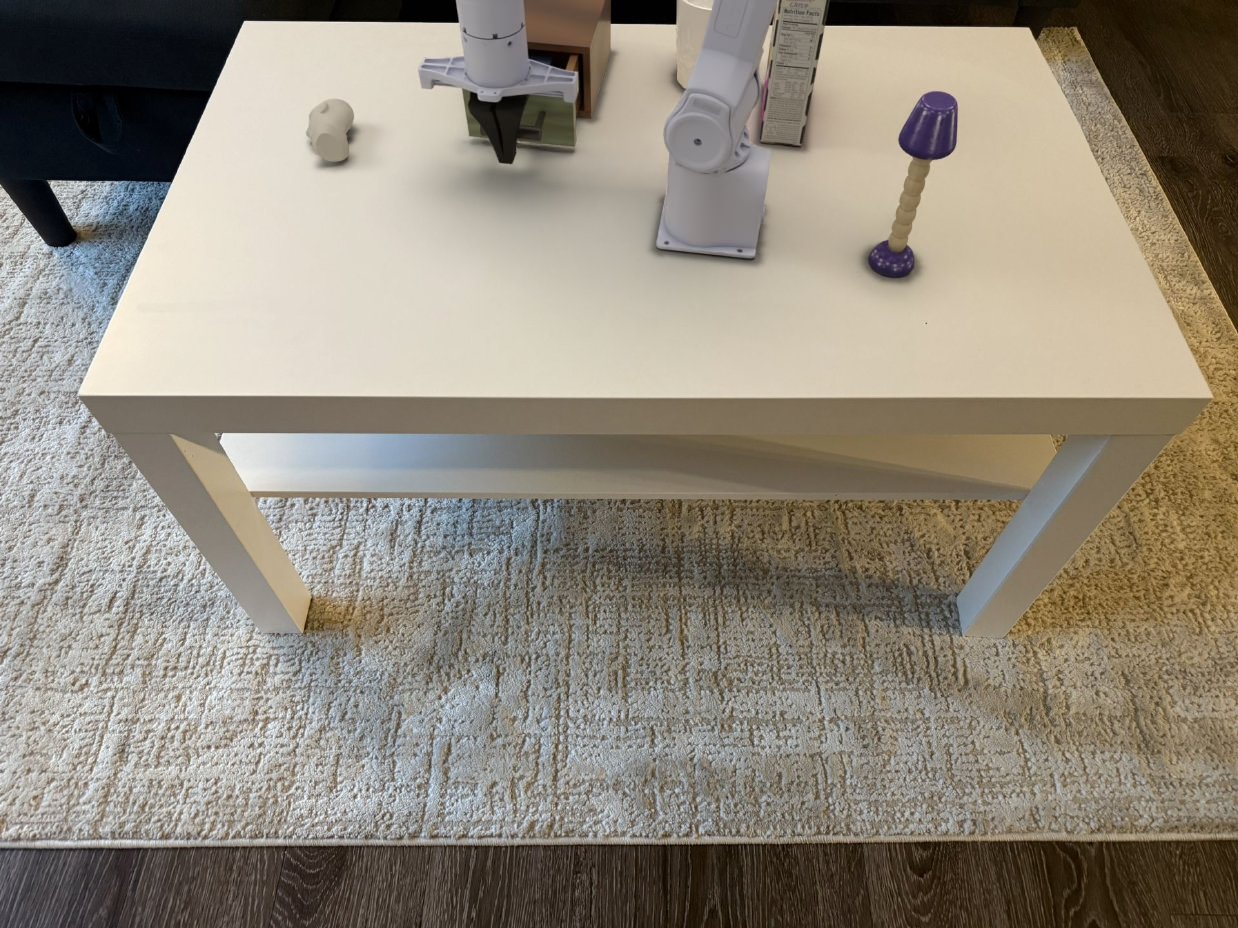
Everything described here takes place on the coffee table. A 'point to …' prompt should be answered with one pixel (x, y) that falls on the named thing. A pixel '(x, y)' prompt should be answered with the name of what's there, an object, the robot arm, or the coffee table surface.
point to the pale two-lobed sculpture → (330, 129)
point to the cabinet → (573, 37)
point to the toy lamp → (917, 175)
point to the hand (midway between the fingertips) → (507, 158)
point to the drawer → (544, 108)
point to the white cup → (690, 35)
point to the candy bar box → (791, 69)
